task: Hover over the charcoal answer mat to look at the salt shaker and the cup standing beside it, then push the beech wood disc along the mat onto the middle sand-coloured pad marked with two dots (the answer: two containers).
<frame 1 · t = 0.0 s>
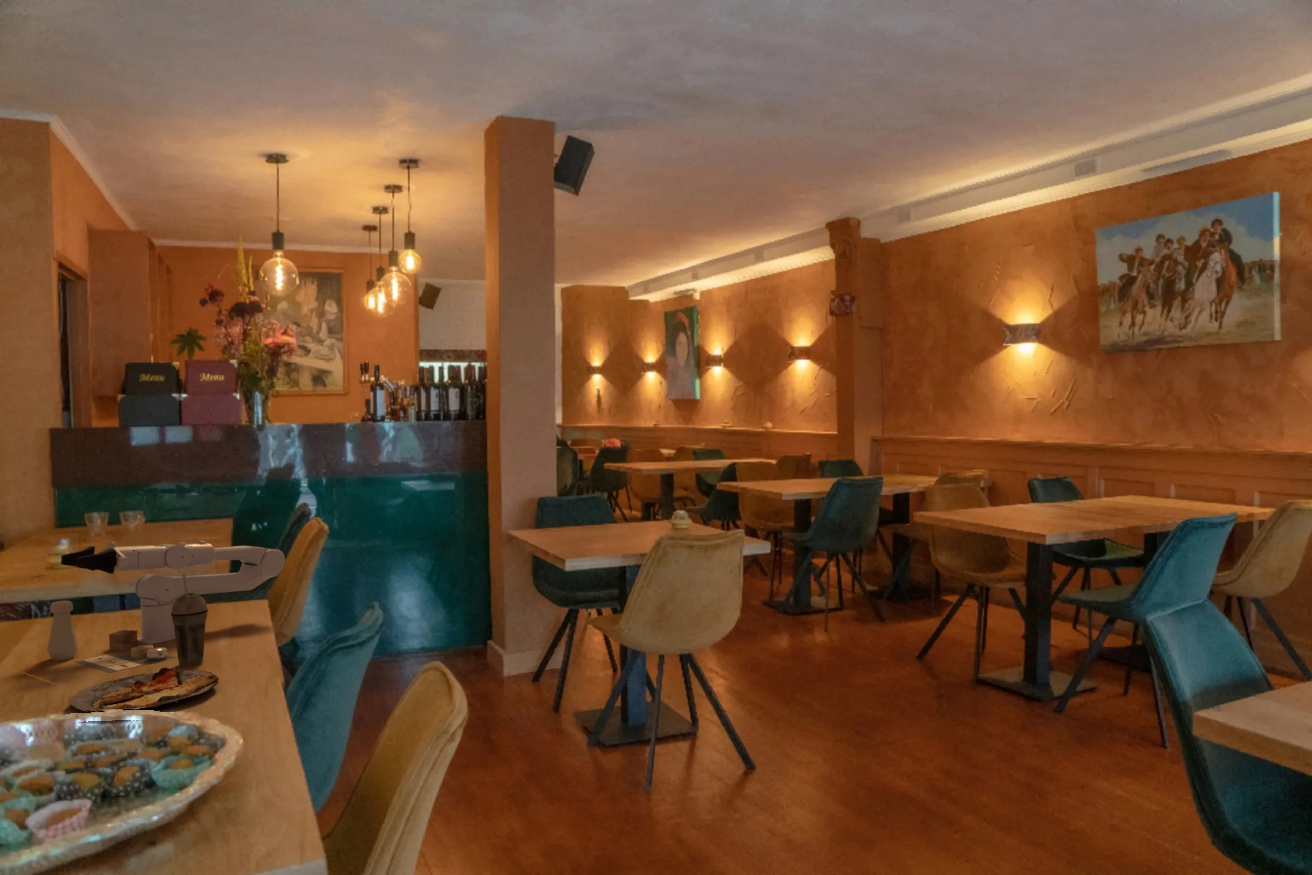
hand: (69, 561, 206), 22 cm above the table, tool horizontal, fingers open, 7 cm apart
beverage cup: (191, 665, 198), on the table
beech disc: (142, 655, 206), resting on answer mat
answer mat: (126, 660, 203), on the table
walnut block: (123, 649, 214), on the table
salt shaker: (63, 660, 205), on the table
tealight tin: (157, 658, 203), resting on answer mat
food plate: (147, 700, 175), on the table
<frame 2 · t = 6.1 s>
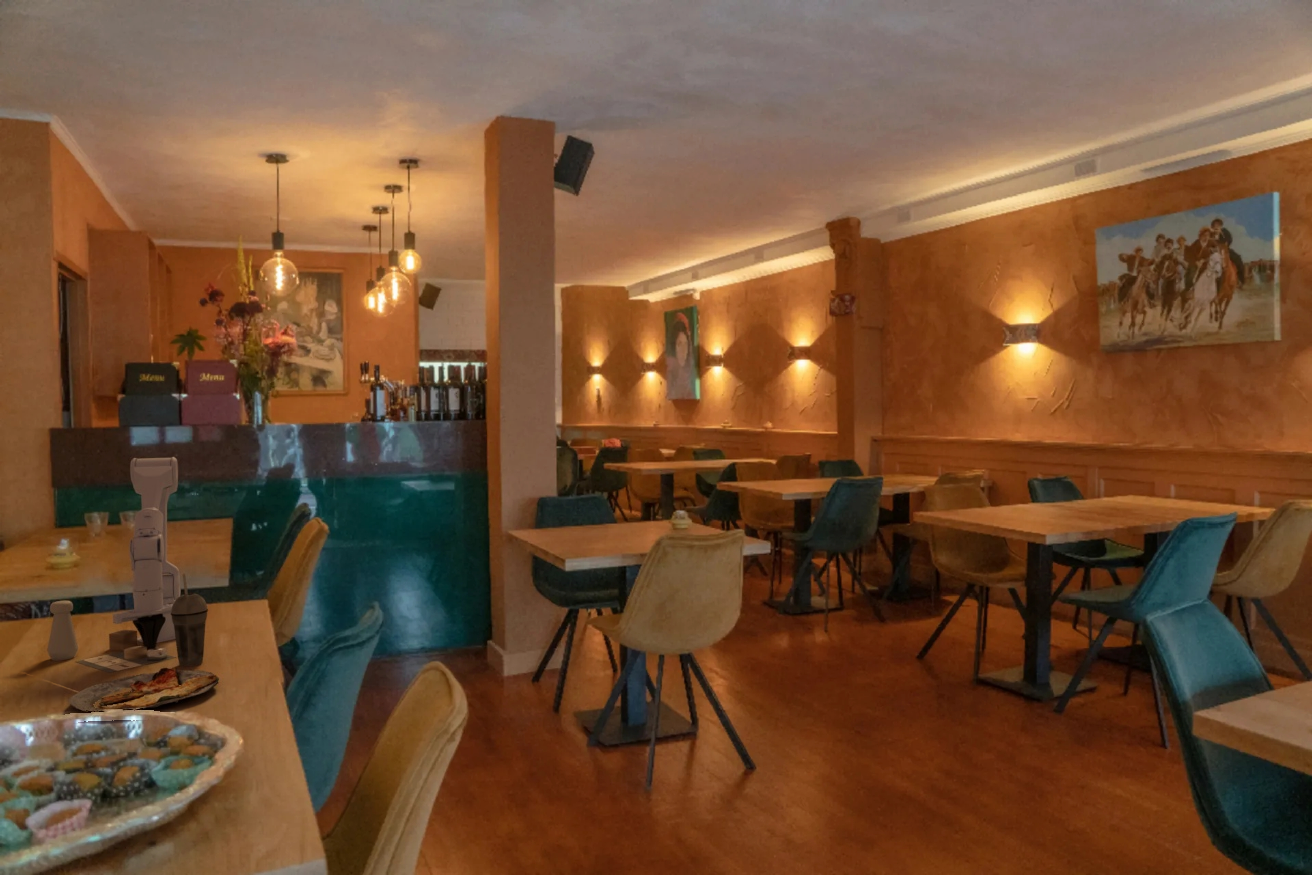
hand: (150, 649, 207), 1 cm above the table, tool pointing down, fingers closed
beech disc: (135, 657, 204), resting on answer mat, touching gripper
everything else where it was.
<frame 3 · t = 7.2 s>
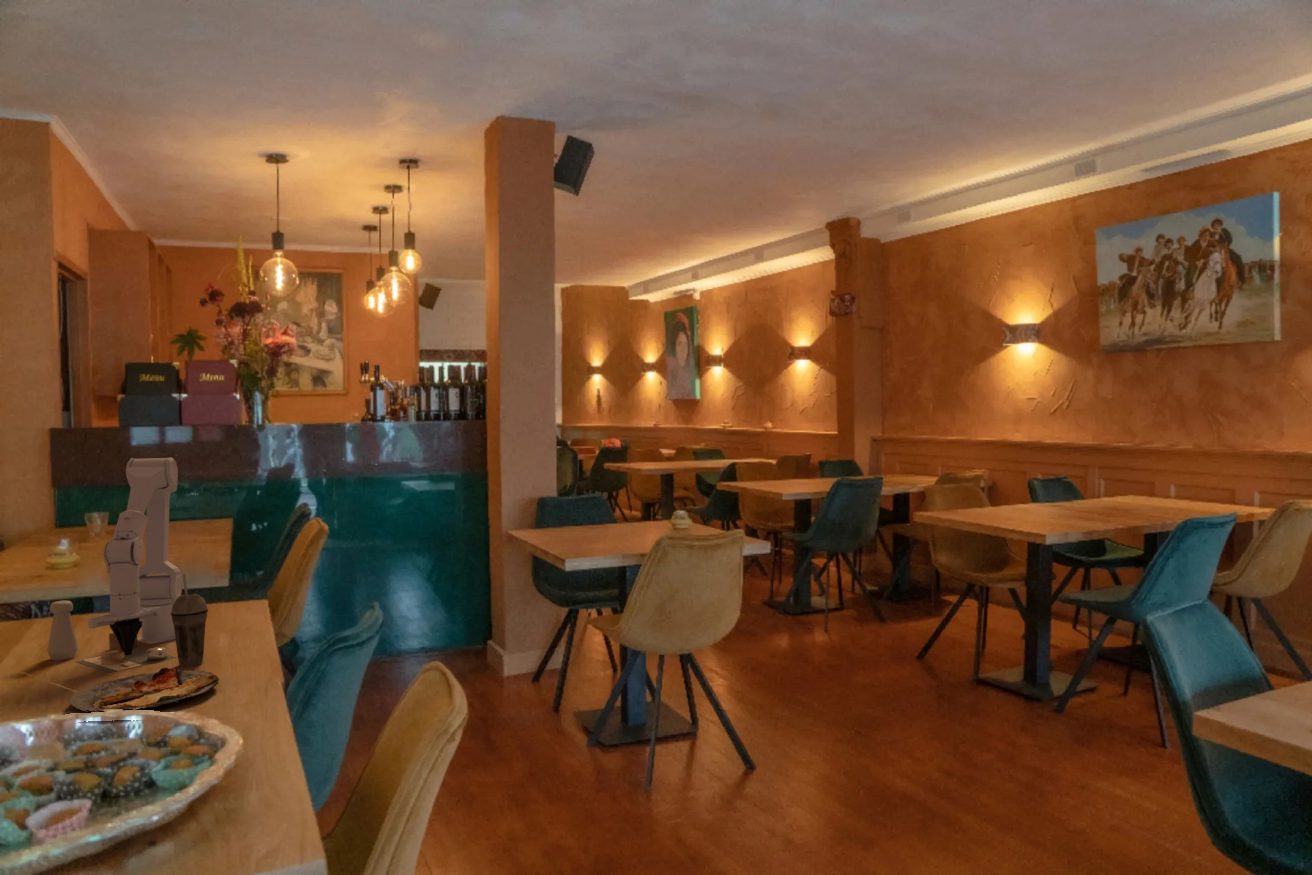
hand: (126, 654, 203), 1 cm above the table, tool pointing down, fingers closed
beech disc: (112, 661, 201), resting on answer mat, touching gripper
everything else where it was.
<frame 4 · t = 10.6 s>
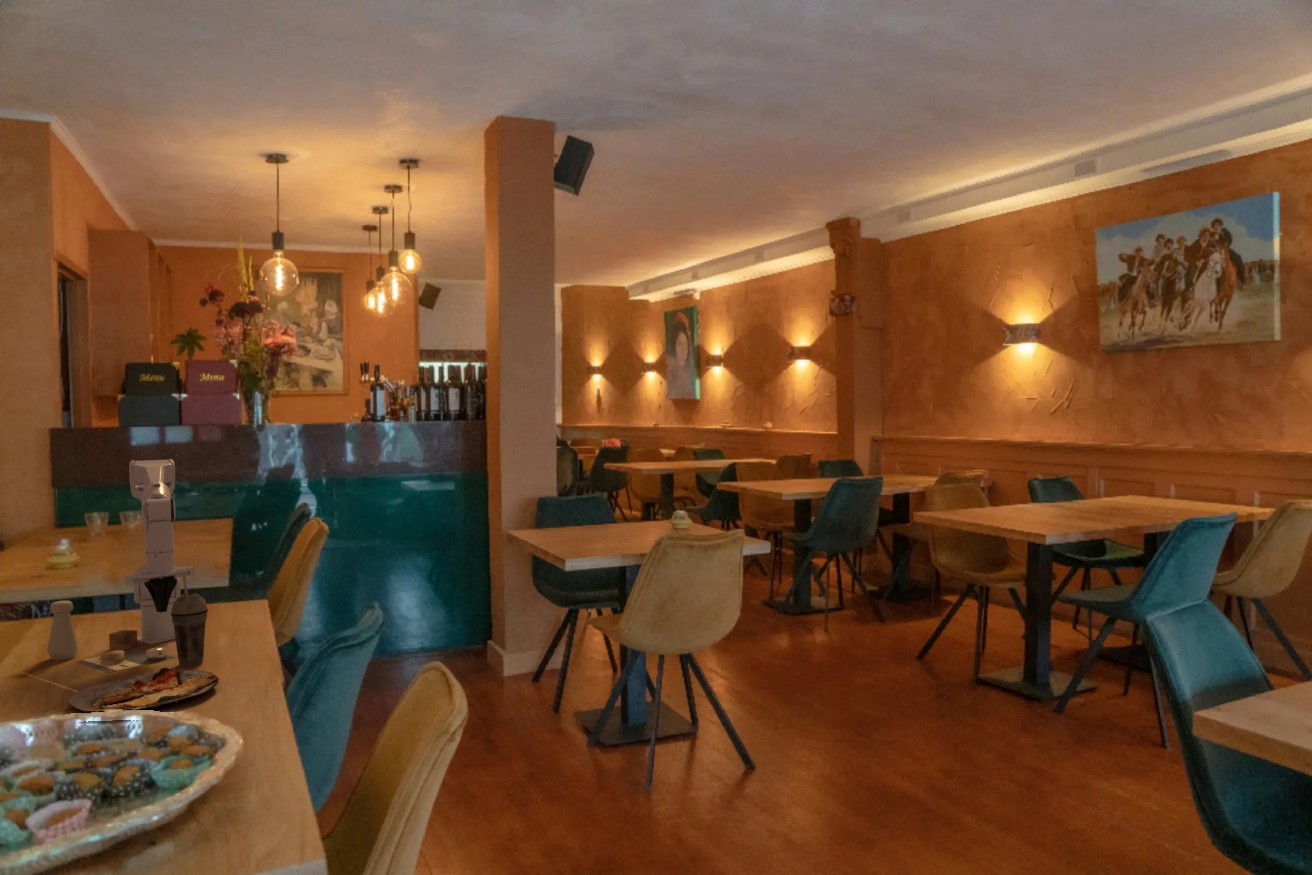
hand: (161, 611, 207), 10 cm above the table, tool pointing down, fingers closed
beech disc: (112, 661, 200), resting on answer mat
everything else where it was.
at the end: beech disc 0.7 cm from the target spot on the answer mat, point 0.4 cm above the answer mat's base; beech disc moved 6.3 cm from its start; the gripper is holding nothing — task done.
